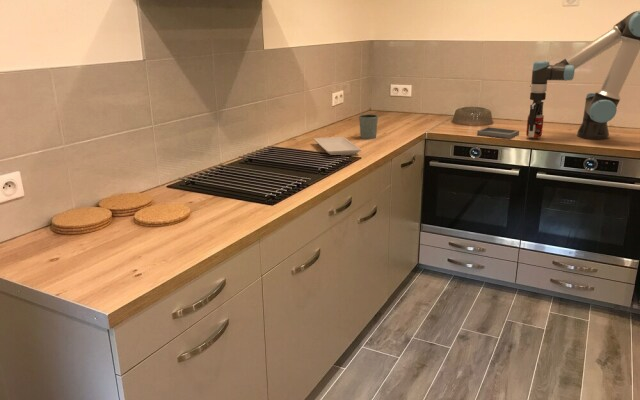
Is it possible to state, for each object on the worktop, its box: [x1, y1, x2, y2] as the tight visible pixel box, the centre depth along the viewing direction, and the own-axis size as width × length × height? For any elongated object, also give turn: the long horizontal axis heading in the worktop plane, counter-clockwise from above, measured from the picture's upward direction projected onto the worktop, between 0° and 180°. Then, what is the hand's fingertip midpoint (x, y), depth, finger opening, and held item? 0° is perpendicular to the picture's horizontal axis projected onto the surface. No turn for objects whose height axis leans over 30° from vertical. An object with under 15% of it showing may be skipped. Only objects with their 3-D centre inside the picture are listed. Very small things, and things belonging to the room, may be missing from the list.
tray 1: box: [313, 136, 362, 156], centre depth 259 cm, size 17×32×4 cm, turn 13°
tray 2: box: [476, 126, 520, 140], centre depth 288 cm, size 18×14×2 cm
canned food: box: [525, 114, 545, 138], centre depth 276 cm, size 8×8×11 cm
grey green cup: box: [358, 113, 379, 140], centre depth 284 cm, size 10×10×12 cm
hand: (533, 135), depth 278 cm, fingers closed on canned food, 8 cm apart
